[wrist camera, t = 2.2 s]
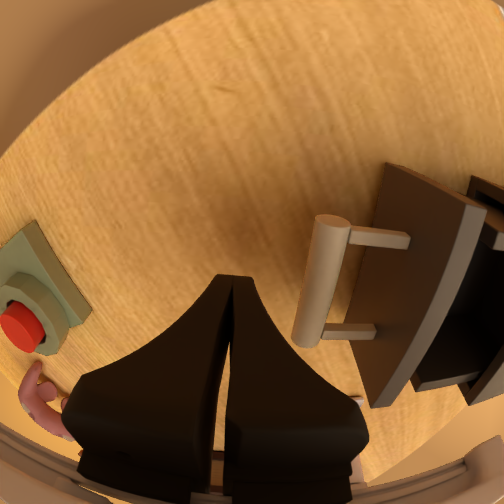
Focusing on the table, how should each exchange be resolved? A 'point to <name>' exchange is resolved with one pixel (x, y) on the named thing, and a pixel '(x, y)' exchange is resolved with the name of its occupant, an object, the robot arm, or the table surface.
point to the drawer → (411, 287)
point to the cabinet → (500, 369)
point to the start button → (22, 327)
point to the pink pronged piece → (42, 402)
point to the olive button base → (40, 287)
